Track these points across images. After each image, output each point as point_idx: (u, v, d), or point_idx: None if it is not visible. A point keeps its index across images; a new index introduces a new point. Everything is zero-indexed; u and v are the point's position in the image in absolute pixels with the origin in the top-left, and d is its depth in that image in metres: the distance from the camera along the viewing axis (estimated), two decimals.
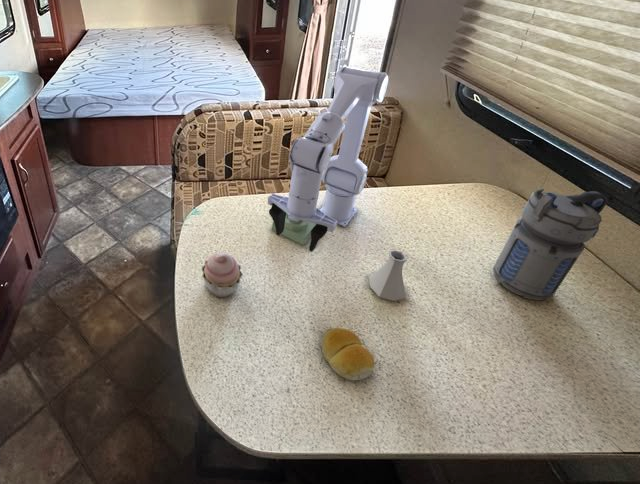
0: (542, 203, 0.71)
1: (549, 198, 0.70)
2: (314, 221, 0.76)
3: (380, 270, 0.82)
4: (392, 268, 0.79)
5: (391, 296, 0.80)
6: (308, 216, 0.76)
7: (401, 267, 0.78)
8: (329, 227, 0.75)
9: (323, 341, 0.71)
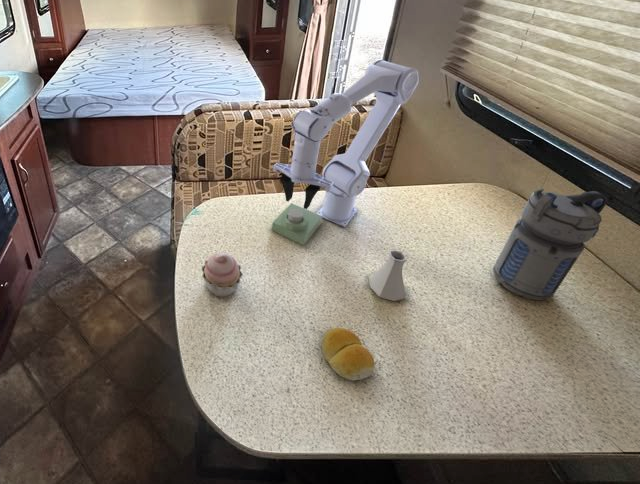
0: (542, 203, 0.71)
1: (549, 198, 0.70)
2: (313, 183, 0.88)
3: (380, 270, 0.82)
4: (392, 268, 0.79)
5: (391, 296, 0.80)
6: (308, 179, 0.89)
7: (401, 267, 0.78)
8: (326, 188, 0.87)
9: (323, 341, 0.71)
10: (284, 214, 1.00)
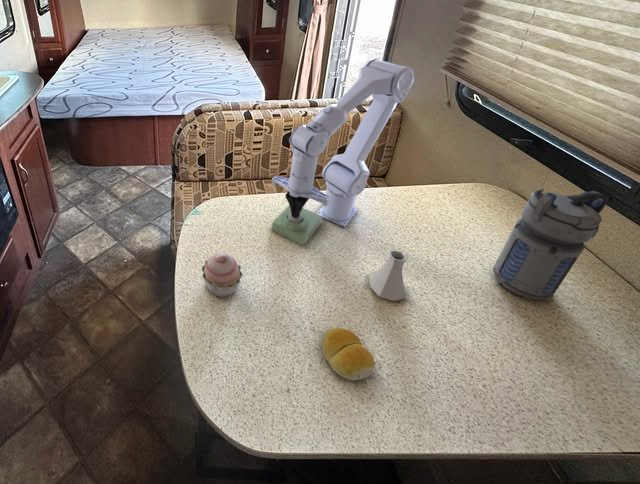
0: (542, 203, 0.71)
1: (549, 198, 0.70)
2: (311, 197, 0.90)
3: (380, 270, 0.82)
4: (392, 268, 0.79)
5: (391, 296, 0.80)
6: (306, 193, 0.91)
7: (401, 267, 0.78)
8: (323, 201, 0.89)
9: (323, 341, 0.71)
10: (284, 214, 1.00)
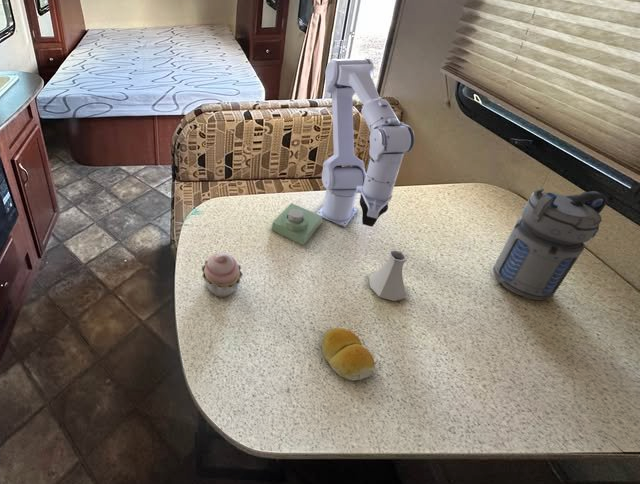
0: (542, 203, 0.71)
1: (549, 198, 0.70)
2: (365, 199, 0.81)
3: (380, 270, 0.82)
4: (392, 268, 0.79)
5: (391, 296, 0.80)
6: (367, 195, 0.82)
7: (401, 267, 0.78)
8: (368, 210, 0.79)
9: (323, 341, 0.71)
10: (284, 214, 1.00)
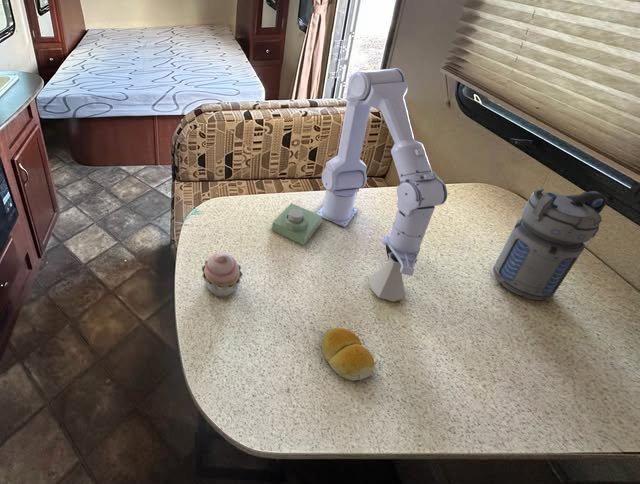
0: (542, 203, 0.71)
1: (549, 198, 0.70)
2: (395, 254, 0.77)
3: (380, 271, 0.81)
4: (391, 270, 0.78)
5: (391, 297, 0.79)
6: (396, 248, 0.78)
7: None
8: (401, 266, 0.75)
9: (323, 341, 0.71)
10: (284, 214, 1.00)
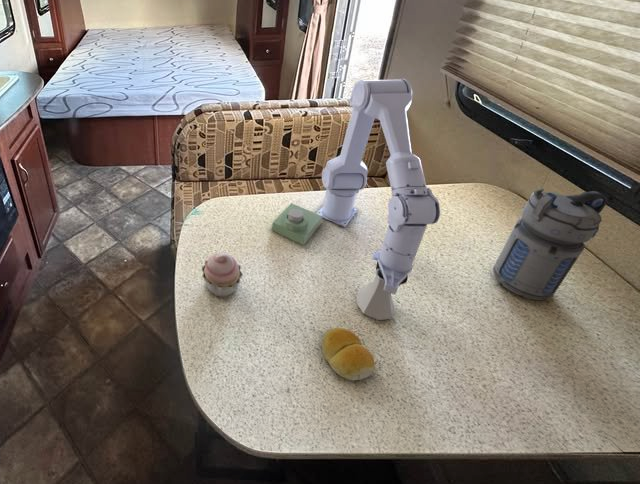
0: (542, 203, 0.71)
1: (549, 198, 0.70)
2: (382, 270, 0.74)
3: (367, 286, 0.78)
4: (377, 287, 0.74)
5: (376, 315, 0.76)
6: (384, 264, 0.75)
7: None
8: (385, 284, 0.72)
9: (323, 341, 0.71)
10: (284, 214, 1.00)
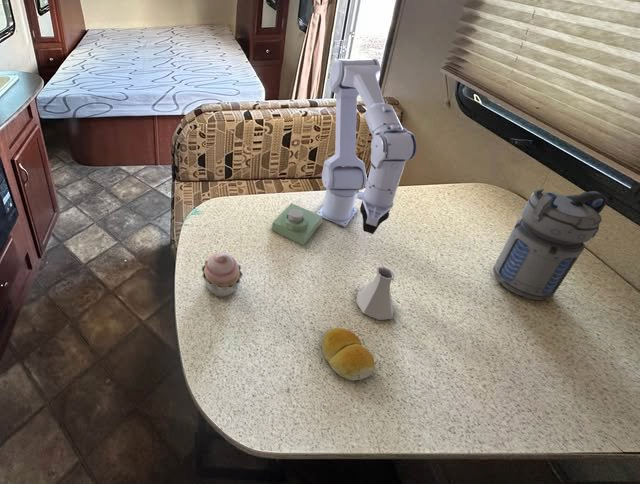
0: (542, 203, 0.71)
1: (549, 198, 0.70)
2: (365, 206, 0.80)
3: (368, 286, 0.78)
4: (378, 286, 0.75)
5: (376, 314, 0.76)
6: (367, 201, 0.81)
7: (388, 285, 0.74)
8: (367, 217, 0.78)
9: (323, 341, 0.71)
10: (284, 214, 1.00)
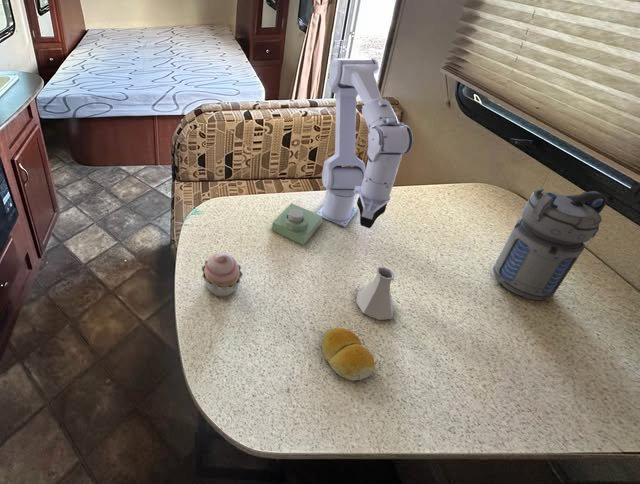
0: (542, 203, 0.71)
1: (549, 198, 0.70)
2: (361, 200, 0.80)
3: (368, 286, 0.78)
4: (378, 286, 0.75)
5: (376, 314, 0.76)
6: (364, 195, 0.81)
7: (388, 285, 0.74)
8: (363, 210, 0.78)
9: (323, 341, 0.71)
10: (284, 214, 1.00)
